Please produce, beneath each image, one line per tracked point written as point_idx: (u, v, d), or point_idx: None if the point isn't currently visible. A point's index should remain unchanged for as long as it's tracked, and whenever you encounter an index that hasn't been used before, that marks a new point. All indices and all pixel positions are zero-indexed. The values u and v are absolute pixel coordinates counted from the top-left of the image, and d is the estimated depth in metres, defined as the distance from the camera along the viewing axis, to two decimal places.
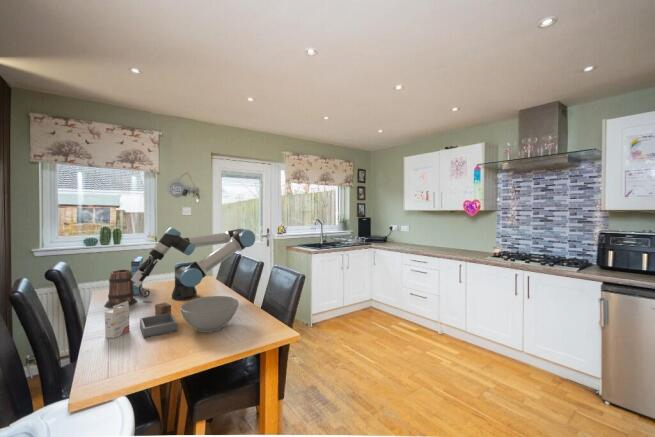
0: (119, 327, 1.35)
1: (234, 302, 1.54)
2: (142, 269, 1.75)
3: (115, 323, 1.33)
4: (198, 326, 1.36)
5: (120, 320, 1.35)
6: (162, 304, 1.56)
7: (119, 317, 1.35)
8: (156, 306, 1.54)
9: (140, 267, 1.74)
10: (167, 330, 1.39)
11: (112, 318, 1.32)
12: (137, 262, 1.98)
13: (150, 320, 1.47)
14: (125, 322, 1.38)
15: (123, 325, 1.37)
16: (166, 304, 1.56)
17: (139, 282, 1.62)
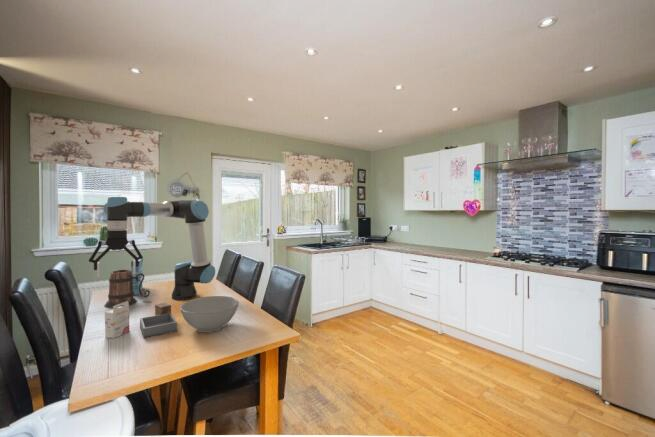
0: (119, 327, 1.35)
1: (234, 302, 1.54)
2: None
3: (115, 323, 1.33)
4: (198, 326, 1.36)
5: (120, 320, 1.35)
6: (162, 304, 1.56)
7: (119, 317, 1.35)
8: (156, 306, 1.54)
9: (97, 259, 1.31)
10: (167, 330, 1.39)
11: (112, 318, 1.32)
12: None
13: (150, 320, 1.47)
14: (125, 322, 1.38)
15: (123, 325, 1.37)
16: (166, 304, 1.56)
17: None
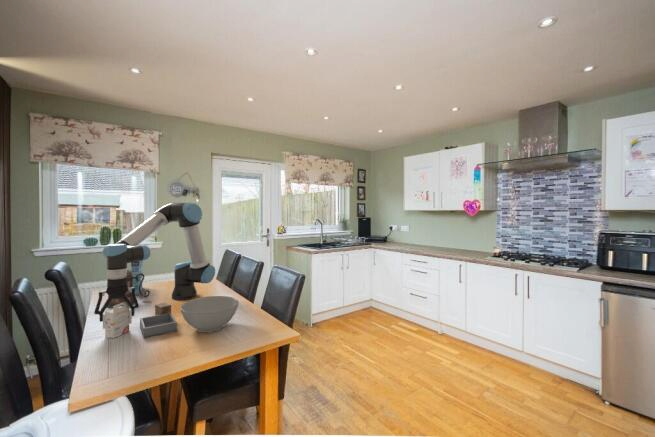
0: (119, 327, 1.35)
1: (234, 302, 1.54)
2: None
3: (115, 323, 1.33)
4: (198, 326, 1.36)
5: (120, 320, 1.35)
6: (162, 304, 1.56)
7: (119, 317, 1.35)
8: (156, 306, 1.54)
9: (101, 311, 1.32)
10: (167, 330, 1.39)
11: (112, 318, 1.32)
12: (137, 262, 1.98)
13: (150, 320, 1.47)
14: (125, 322, 1.38)
15: (123, 325, 1.37)
16: (166, 304, 1.56)
17: None
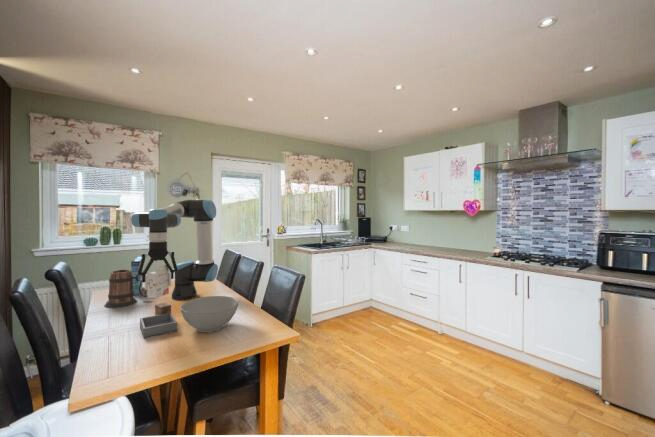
0: (160, 288, 1.41)
1: (234, 302, 1.54)
2: None
3: (157, 284, 1.39)
4: (198, 326, 1.36)
5: (161, 282, 1.41)
6: (162, 304, 1.56)
7: (160, 278, 1.40)
8: (156, 306, 1.54)
9: (144, 272, 1.38)
10: (167, 330, 1.39)
11: (154, 279, 1.38)
12: (137, 262, 1.98)
13: (150, 320, 1.47)
14: (165, 285, 1.44)
15: (164, 287, 1.43)
16: (166, 304, 1.56)
17: (170, 280, 1.46)
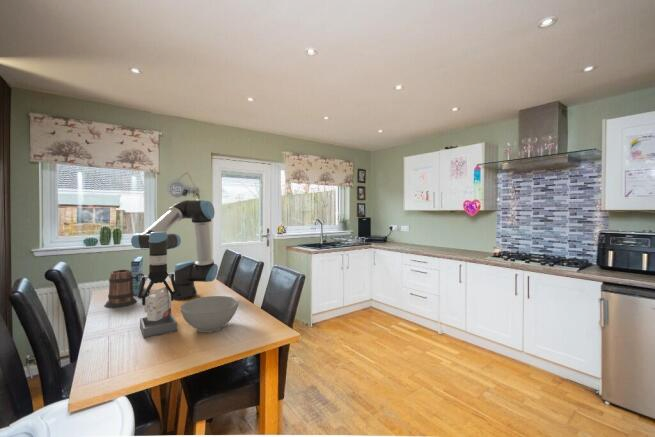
0: (160, 311, 1.41)
1: (234, 302, 1.54)
2: None
3: (157, 307, 1.39)
4: (198, 326, 1.36)
5: (161, 304, 1.41)
6: None
7: (160, 301, 1.41)
8: None
9: (144, 295, 1.38)
10: (167, 330, 1.39)
11: (154, 302, 1.38)
12: (137, 262, 1.98)
13: None
14: (165, 307, 1.44)
15: (164, 309, 1.43)
16: None
17: None
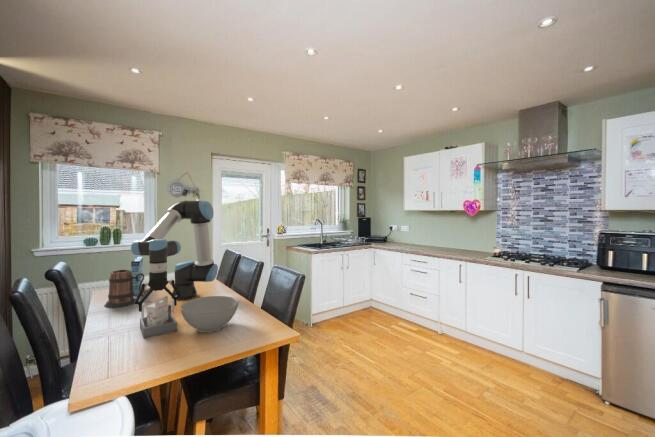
0: (160, 321, 1.41)
1: (234, 302, 1.54)
2: None
3: (157, 317, 1.39)
4: (198, 326, 1.36)
5: (161, 314, 1.42)
6: None
7: (160, 311, 1.41)
8: None
9: (141, 301, 1.37)
10: (167, 330, 1.39)
11: (154, 312, 1.38)
12: (137, 262, 1.98)
13: None
14: (165, 316, 1.44)
15: (163, 319, 1.43)
16: None
17: (173, 307, 1.47)
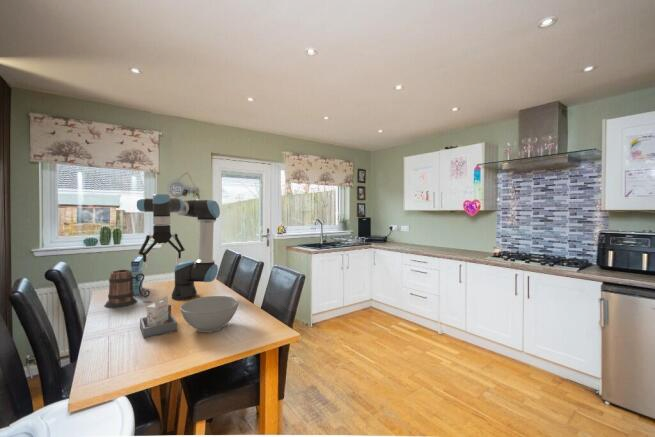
0: (160, 321, 1.41)
1: (234, 302, 1.54)
2: None
3: (157, 317, 1.39)
4: (198, 326, 1.36)
5: (161, 314, 1.42)
6: None
7: (160, 311, 1.41)
8: None
9: (146, 252, 1.43)
10: (167, 330, 1.39)
11: (154, 312, 1.38)
12: (137, 262, 1.98)
13: None
14: (165, 316, 1.44)
15: (163, 319, 1.43)
16: None
17: None
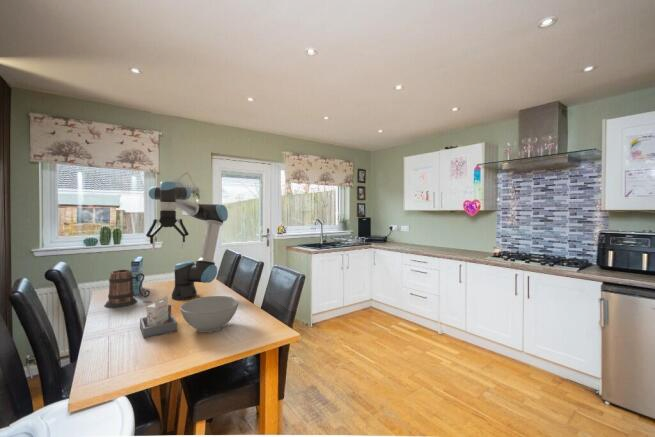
0: (160, 321, 1.41)
1: (234, 302, 1.54)
2: None
3: (157, 317, 1.39)
4: (198, 326, 1.36)
5: (161, 314, 1.42)
6: None
7: (160, 311, 1.41)
8: None
9: (152, 234, 1.54)
10: (167, 330, 1.39)
11: (154, 312, 1.38)
12: (137, 262, 1.98)
13: None
14: (165, 316, 1.44)
15: (163, 319, 1.43)
16: None
17: None
